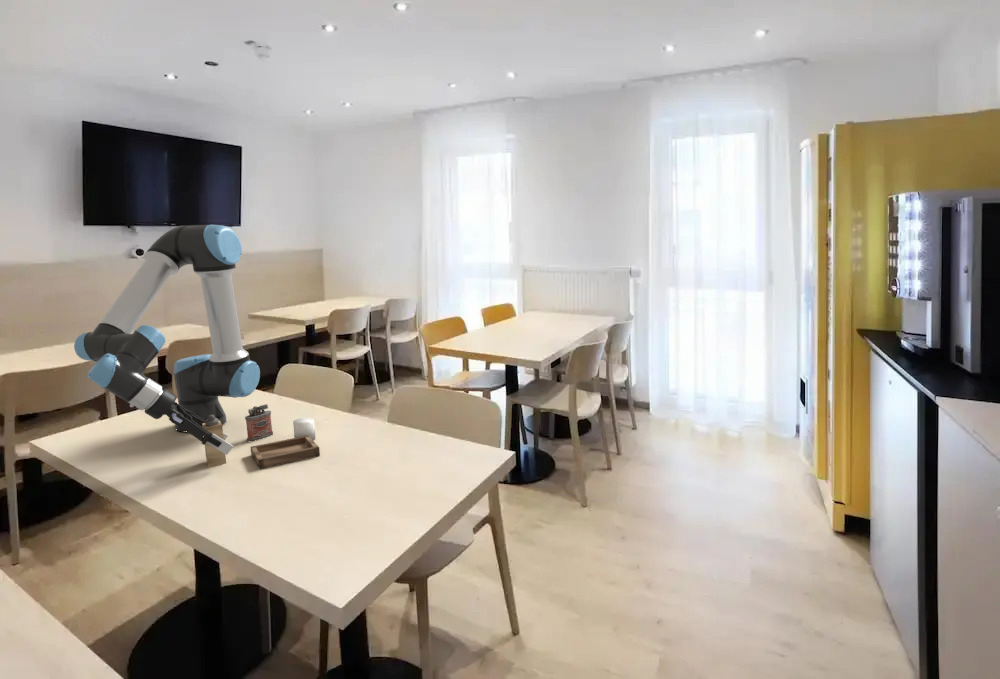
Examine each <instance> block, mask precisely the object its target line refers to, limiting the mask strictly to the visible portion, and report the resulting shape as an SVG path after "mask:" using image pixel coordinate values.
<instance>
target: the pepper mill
mask: <svg viewBox="0 0 1000 679" xmlns="http://www.w3.org/2000/svg"><path fill="white" fill-rule="evenodd" d="M202 426H203V428H204V429H206V430H207V431H208V432H210V433H213V434H215V435H216V436H218V437H220V438H221V439H223V440H224V438H223V433H224V432H223V431H224V429H223V425H222V424H221V422H220V421H218V419H217V418H215V416H214V415H209V416H208V419H207V420H205V423H203V424H202ZM204 436H205V435H204ZM204 436H203V437H204ZM224 441H225V440H224ZM204 451H205V459H206V464H207V466H208V468H210V467H215V466H219V465H220V466H221V465H225V464H227V458H226V456H227V455H226V454H224V453H223V452H221V451H219V450H218V449H216V448H214V447H213V446H211V445H209V444H208V443H205V444H204Z"/></svg>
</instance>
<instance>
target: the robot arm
mask: <svg viewBox="0 0 1000 679" xmlns="http://www.w3.org/2000/svg"><path fill="white" fill-rule="evenodd" d="M242 248H243V247H242V243H241V241H240V238H239V237H238V235H237V233H236V232H235V231H233V229H232V228H230V227H228V226H226V225H223V224H221V225H220V224H204V225H203V224H200V225H178V226H176V227H173V228H171V229H169V230H168V231H166V232H164V233H163V234H162V235H161V236H160V237H158V238H157V239H156V240H155V241H154V242H153V244H151V246H150V247H149V248H148V249H147V251H146V252H145V253H144V256H143V259H144V262H143V263H142V264H141V266H139V268H138V270H136V272H135V274H134V275H133V276H132V278H131V279H130V280H129V282H128V283H127V284H126V286H125V288H124V289H123V290H122V291H121V293H120V294H119V296H118V297H117V298H116V299H115V301H113V304H112V305H111V306H110V308H109V309H108V310H107V312H106V313H105V315H103V317H102V319H101V320H100V321H99V323H98V324H97V325H96V327H95V328H94V330H93V331H89V332H84V333H82V334H80V335H78V336H77V338H76V339H75V340H74V343H73V348H74V352H75V354H76V355H77V357H79V359H82V360H84V361H90V362H95V364H93V366H92V367H91V368H90V369H89V371H88V372H87V377H88V379H89V380H90V381H92V382H93V383H94V384H96V385H97V386H99V387H100V388H101V389H104V390H106V391H107V392H110V393H111V394H112V395H115V396H117V397H119V398H120V399H122V400H123V401H125V402H126V403H127V404H128V403H129V407H130V408H134V407H136V409H138V410H140V411H144V413H145V414H146V415H148V416H149V417H151V418H153V419H155V420H158V419H162V417H163V416H166V417H167V418H168V420H169V421H170V422H171V424H174V428H175V429H177V430H179V431H187V432H186V433H188V434H190V435H191V436H193V437H195V438H196V439H197V440H199V441H200V442H201V445H204V446H205V443H208V444H209V445H211V446H213V447H214V448H216V449H218V450H219V451H221V452H223V453H224V454H225V456H227V455H228V454H229V453H230V452H231V451H232V449H233V448H234V445H232V444H231V443H229V442H227V438H228V437H229V434H227V433H224V432H223V438H224V440H223V439H221V438H220V437H218V436H216V435H215V434H213V433H210V432H208V431H207V430H206V429H204V428H203V426H202V424H203V423H205V420H207V419H208V416H209V415H214V416H215V418H217V419H218V421H220V422H221V424H222V426H224V425H225V424H226V423H227V415H226V412H225V410H224V408H223V407H222V405H221V403H220V400H219V397H223V398H225V397H227V398H234V399H235V398H246V397H248V396H250V395H251V394H253V393H254V392H255V391H256V388H257V386H258V385H259V382H260V378H261V376H260V375H261V371H260V366H259V365H258V364H257V362H256V361H254V360H251V359H250V353H249V351H247V350H246V349H244V347H243V341H242V334H241V329H240V322H239V315H238V309H237V301H236V298H235V297H236V296H235V290H234V283H233V276H232V275H233V272H234V271H235V270H236V268H237V267H236V264H237V263H238V262H239V261H240V259H241V257H242V256H241V255H242V253H243V250H242ZM187 265H192V268H193V272H194V274H196V275H197V276H199V278H200V281H201V282H200V283H201V288H202V294H203V300H204V305H205V312H206V319H207V324H208V330H209V337H210V340H211V341H210V342H211V348H212V354H211V353H206V354H199V355H198V354H197V355H193V356H189V357H184V358H181V359H178V360H177V361H175V362H174V364H173V370H174V373H173V375H174V376H173V377H174V383H175V389H176V394H175V393H173V392H171V391H170V390H168V389H167V388H163V386H162V385H161V384H160V383H158V382H157V381H154V380H153V379H151V378H150V377H148V376H146V375H145V374H144V373H143V372H144V371H145V370H146V369H147V367H149V365H150V364H151V363H152V361H153V360H154V359H155V358H156V356H157V355H158V354H159V353H160V352H161V349H162V348H163V346H164V345H165V343H166V337H165V335H164V334H163V333H162V331H161V330H160V329H158V328H156V327H154V326H152V325H147V324H142V325H140V326H138V327H137V328H136V329H135V327H136V326H137V324H138V323H139V322H140V320H141V319H142V318H143V316H144V314H145V312H147V310H148V308H149V307H150V306H151V304H152V303H153V301H154V300H155V298H156V297H157V295H158V294H159V293H160V291H161V290H162V288H163V287H164V285H165V283H166V282H167V281H168V279H169V278H170V277H171V276H173V275H176V274H177V273H178V272H179V270H181V268H183V267H184V266H187ZM134 329H135V330H134ZM133 330H134V331H133ZM176 401H177V402H176ZM225 422H226V423H225ZM224 423H225V424H224ZM223 424H224V425H223ZM179 431H178V432H179ZM204 435H205V436H204Z"/></svg>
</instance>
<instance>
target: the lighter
mask: <svg viewBox="0 0 1000 679" xmlns="http://www.w3.org/2000/svg"><path fill="white" fill-rule="evenodd" d="M267 409H269V404H267V403H266V404H265V403H264V404H261V405H259V406H258V405H255V406H253V407H252V408H248V409H247V410H248V411H247V412H248V415H246V416H245V417H244V420H245V421H246V422H245V423H246V432H247V434H246V435H247V439H246V440H247V442H249V441H252V442H256V441H259V439H260V440H264V439H267V438H269V437H271V435H272V436H273V434H274V431H273V427H272V426H273V424H272V412H271V410H267ZM263 438H264V439H263ZM255 440H256V441H255Z"/></svg>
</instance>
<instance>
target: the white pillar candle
mask: <svg viewBox="0 0 1000 679" xmlns="http://www.w3.org/2000/svg"><path fill="white" fill-rule="evenodd" d="M292 426H293V433H294V434H293V438H297V437H302V436H307V435H308V436H309V437H310V438H311V439H312V440H313V441H315V440H316V429H315V419H314V418H313V417H300V418H297V419H294V420H293V421H292Z"/></svg>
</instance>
